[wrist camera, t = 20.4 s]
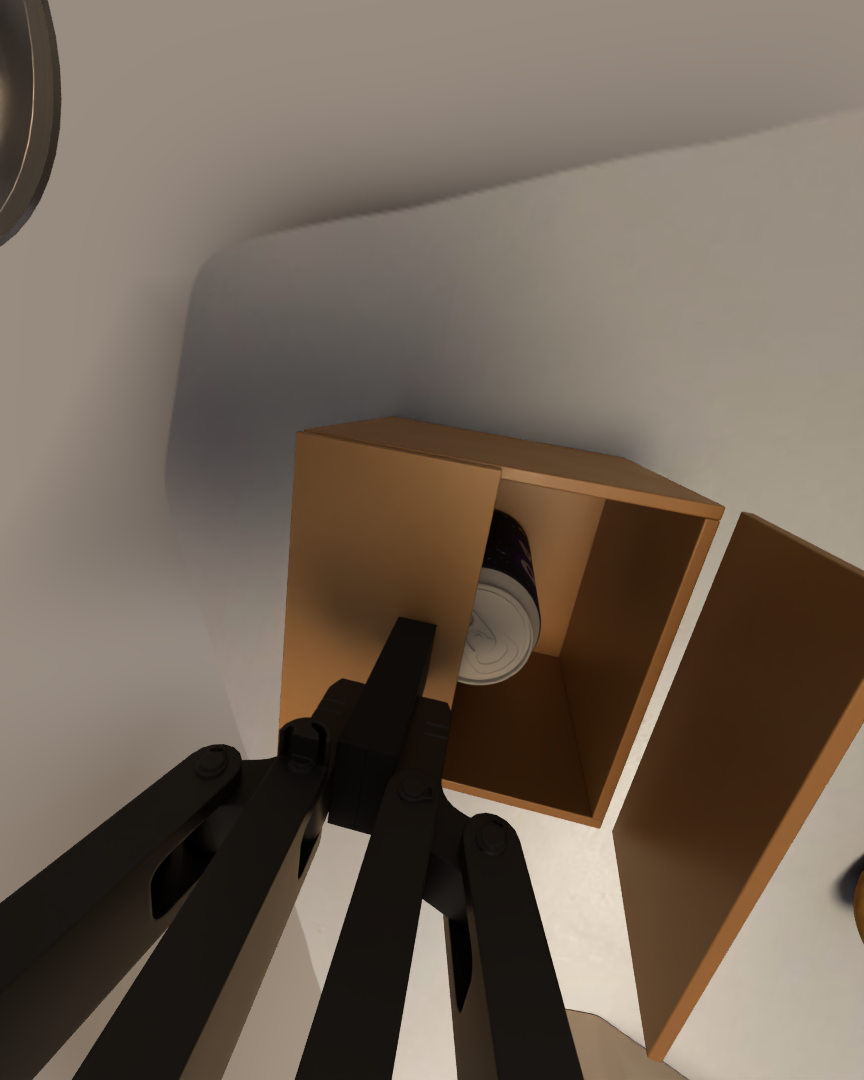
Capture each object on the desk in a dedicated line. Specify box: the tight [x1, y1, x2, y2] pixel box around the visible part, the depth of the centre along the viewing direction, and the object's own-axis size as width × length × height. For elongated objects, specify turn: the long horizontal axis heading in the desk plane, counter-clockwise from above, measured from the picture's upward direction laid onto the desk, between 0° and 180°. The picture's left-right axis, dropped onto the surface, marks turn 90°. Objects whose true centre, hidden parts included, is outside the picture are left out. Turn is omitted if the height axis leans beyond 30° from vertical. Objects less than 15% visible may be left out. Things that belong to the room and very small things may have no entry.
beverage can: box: [457, 512, 541, 685], centre depth 24 cm, size 6×6×12 cm
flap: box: [277, 431, 502, 756], centre depth 18 cm, size 7×15×1 cm, turn 170°
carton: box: [304, 416, 864, 1063], centre depth 21 cm, size 16×15×21 cm
